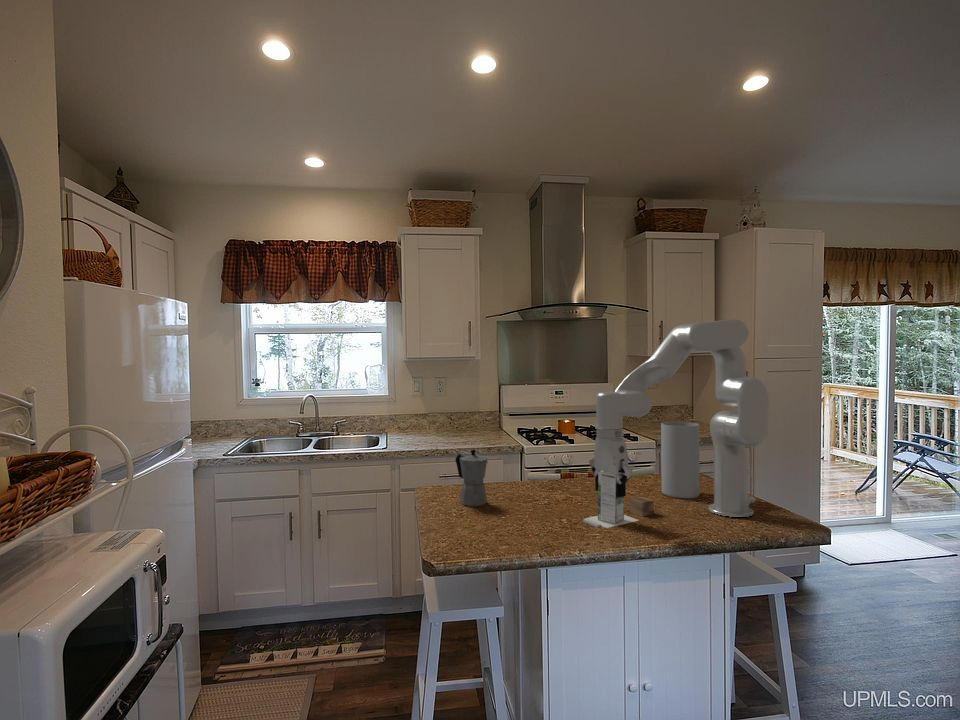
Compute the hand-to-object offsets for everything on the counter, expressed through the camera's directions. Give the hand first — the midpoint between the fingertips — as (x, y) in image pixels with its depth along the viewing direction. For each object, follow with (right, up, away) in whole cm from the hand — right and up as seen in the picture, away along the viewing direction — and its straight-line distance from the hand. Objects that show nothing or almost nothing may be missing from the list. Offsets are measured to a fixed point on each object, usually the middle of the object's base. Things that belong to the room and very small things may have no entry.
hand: (610, 493), depth 148 cm
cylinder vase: (+33, -9, +30) cm, 45 cm away
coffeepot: (-41, -9, +23) cm, 48 cm away
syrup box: (0, -8, 0) cm, 8 cm away
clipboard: (0, -9, 0) cm, 9 cm away
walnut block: (+11, -9, +6) cm, 16 cm away
